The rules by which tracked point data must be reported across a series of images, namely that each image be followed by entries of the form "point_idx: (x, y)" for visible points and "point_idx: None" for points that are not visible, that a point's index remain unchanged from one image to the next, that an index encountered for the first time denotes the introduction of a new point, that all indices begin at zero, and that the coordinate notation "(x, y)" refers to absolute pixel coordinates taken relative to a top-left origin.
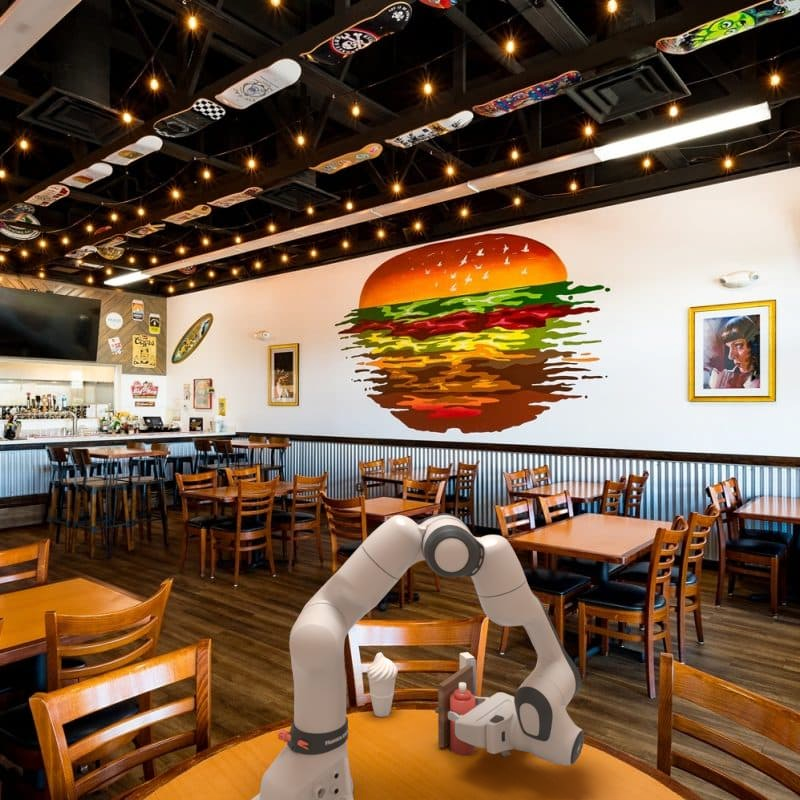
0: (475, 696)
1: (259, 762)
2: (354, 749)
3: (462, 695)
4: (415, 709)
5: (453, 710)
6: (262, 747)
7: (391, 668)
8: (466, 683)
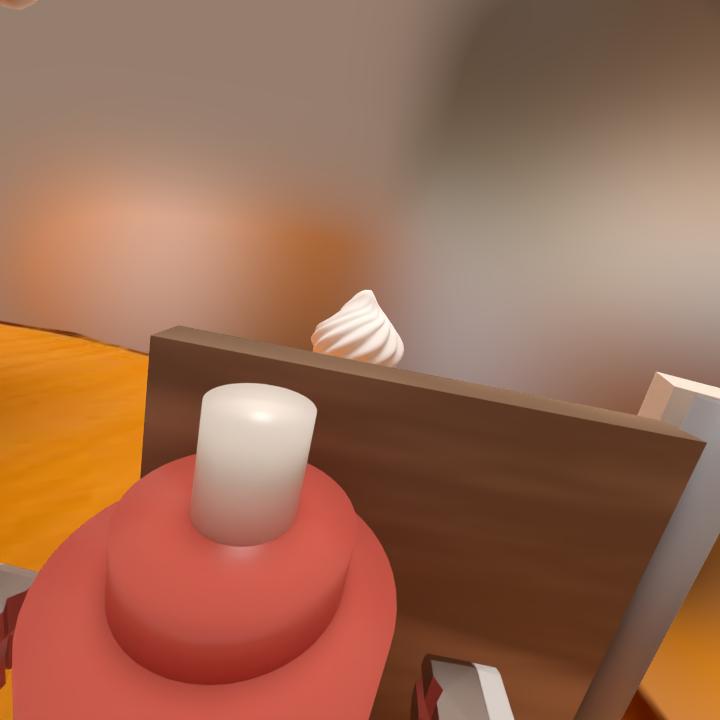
0: (503, 700)
1: (31, 361)
2: (103, 448)
3: (124, 526)
4: None
5: (11, 593)
6: (101, 360)
7: (358, 332)
8: (545, 521)
